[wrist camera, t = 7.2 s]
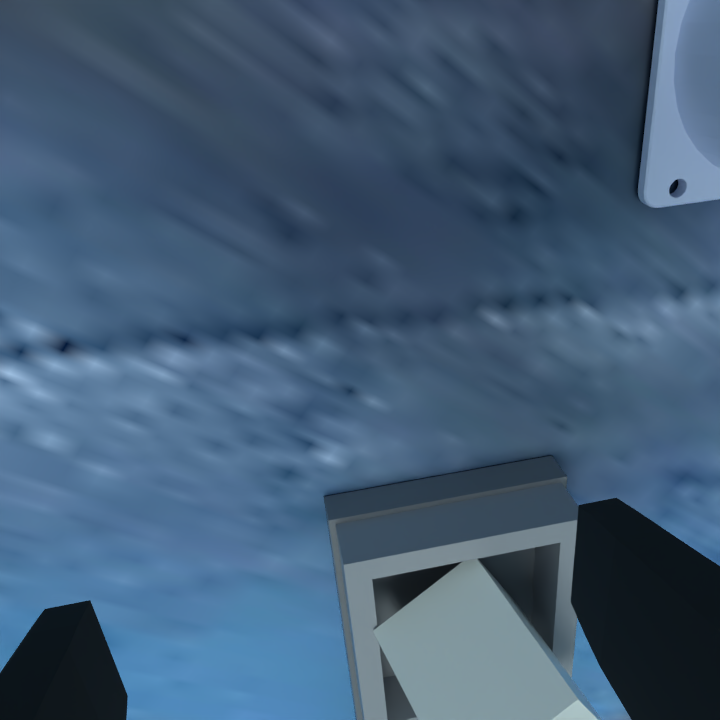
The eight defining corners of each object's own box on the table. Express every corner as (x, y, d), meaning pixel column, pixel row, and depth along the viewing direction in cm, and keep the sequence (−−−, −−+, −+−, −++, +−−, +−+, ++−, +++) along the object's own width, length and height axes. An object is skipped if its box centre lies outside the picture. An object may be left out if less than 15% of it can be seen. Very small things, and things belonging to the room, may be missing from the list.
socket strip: (551, 455, 23) (593, 511, 20) (532, 776, 32) (559, 844, 29) (323, 496, 22) (336, 561, 19) (369, 814, 31) (382, 888, 28)
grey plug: (473, 553, 21) (599, 728, 16) (517, 604, 24) (631, 759, 20) (372, 630, 21) (473, 826, 16) (431, 670, 24) (526, 840, 20)
